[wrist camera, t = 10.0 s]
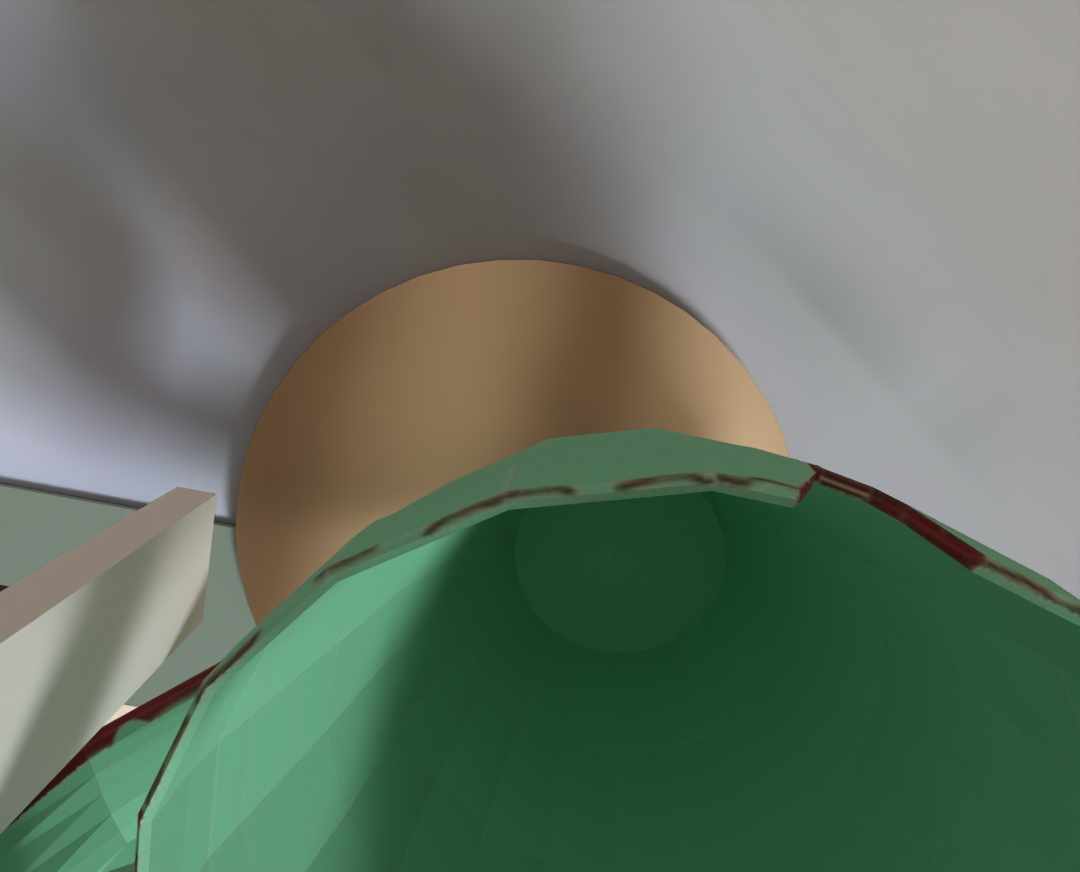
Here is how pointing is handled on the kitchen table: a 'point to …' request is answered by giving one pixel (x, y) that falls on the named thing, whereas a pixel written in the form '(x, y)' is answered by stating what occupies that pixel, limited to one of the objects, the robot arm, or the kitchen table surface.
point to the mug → (611, 691)
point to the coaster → (469, 400)
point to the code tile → (66, 521)
